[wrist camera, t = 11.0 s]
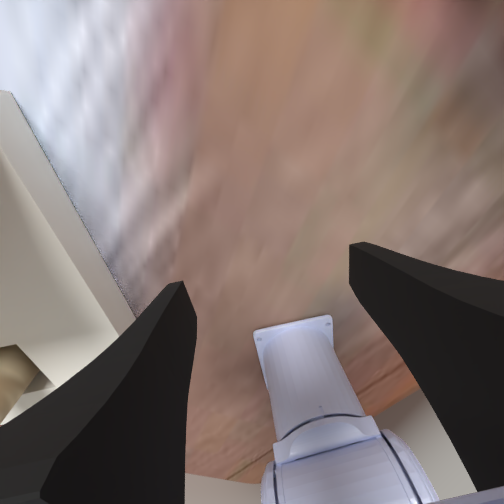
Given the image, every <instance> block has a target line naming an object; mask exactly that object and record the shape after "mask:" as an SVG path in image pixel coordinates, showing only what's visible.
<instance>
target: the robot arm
mask: <svg viewBox="0 0 504 504" xmlns="http://www.w3.org/2000/svg"><path fill="white" fill-rule="evenodd" d="M349 284H350V286H351V288H352V290H353V291H354V293H355V295H356V297H357V298H358V300H359V302H360V303H361V305H362V306H363V307H364V309H365V310H366V311H367V312H368V314H369V315H370V316H371V318H372V319H373V320H374V321H375V323H376V324H377V325H378V327H379V328H380V329H381V330H382V332H383V333H384V334H385V336H386V337H387V338H388V339H389V341H390V342H391V343H392V345H393V346H394V347H395V349H396V350H397V351H398V353H399V354H400V356H401V357H402V359H403V360H404V362H405V363H406V365H407V367H408V368H409V370H410V371H411V373H412V375H413V376H414V378H415V379H416V381H417V383H418V384H419V386H420V388H421V389H422V391H423V393H424V394H425V396H426V398H427V399H428V401H429V402H430V404H431V406H432V408H433V410H434V411H435V413H436V415H437V417H438V418H439V420H440V422H441V424H442V426H443V427H444V429H445V431H446V433H447V434H448V436H449V438H450V440H451V442H452V443H453V446H454V447H455V449H456V451H457V453H458V455H459V457H460V459H461V460H462V462H463V464H464V466H465V468H466V470H467V472H468V474H469V476H470V478H471V480H472V482H473V484H474V486H475V488H476V490H477V492H476V493H471V494H467V495H462V496H458V497H453V498H449V499H444V500H439V498H438V496H437V494H436V492H435V490H434V488H433V486H432V484H431V482H430V480H429V479H428V477H427V475H426V473H425V472H424V470H423V468H422V466H421V465H420V463H419V462H418V460H417V458H416V457H415V455H414V454H413V452H412V451H411V449H410V448H409V446H408V445H407V444H406V443H405V442H404V441H403V439H402V438H400V437H399V436H397V435H396V434H394V433H393V432H391V431H390V430H389V429H383V430H379V429H378V427H377V426H376V423H375V421H374V420H373V418H372V416H366V415H365V413H364V411H363V409H362V407H361V405H360V402H359V400H358V398H357V396H356V394H355V392H354V390H353V388H352V386H351V384H350V382H349V380H348V378H347V376H346V374H345V372H344V370H343V368H342V366H341V364H340V362H339V360H338V358H337V356H336V354H335V351H334V347H333V319H332V317H331V316H330V315H323V316H318V317H314V318H309V319H304V320H300V321H295V322H291V323H286V324H281V325H277V326H272V327H268V328H263V329H259V330H255V331H254V332H253V337H254V341H255V345H256V348H257V352H258V356H259V360H260V364H261V368H262V372H263V376H264V380H265V384H266V387H267V389H268V390H269V396H270V402H271V408H272V413H273V419H274V425H275V431H276V436H277V442H276V443H274V444H273V450H274V457H275V460H274V461H271V462H268V463H267V465H266V469H265V472H264V474H263V477H262V481H261V504H504V281H501V280H496V279H491V278H486V277H481V276H477V275H473V274H468V273H464V272H460V271H456V270H452V269H448V268H444V267H441V266H438V265H434V264H431V263H427V262H424V261H421V260H418V259H415V258H412V257H409V256H406V255H403V254H400V253H397V252H394V251H391V250H389V249H386V248H383V247H380V246H377V245H374V244H371V243H367V242H360V243H355V244H350V245H349ZM326 323H327V324H326ZM196 339H197V316H196V313H195V311H194V308H193V305H192V303H191V300H190V298H189V295H188V293H187V290H186V288H185V285H184V282H183V281H179V282H174V283H170V284H168V285H167V286H166V287H165V288H164V289H163V290H162V291H161V292H160V293H159V295H158V296H157V297H156V298H155V299H154V300H153V301H152V302H151V304H150V305H149V306H148V307H147V308H146V309H145V310H144V311H143V312H142V314H141V315H140V316H139V317H138V318H137V319H136V320H135V321H134V322H133V323H132V324H131V325H130V326H129V327H128V328H127V329H126V330H125V331H124V332H123V333H122V334H121V335H120V336H119V337H118V338H117V339H116V340H115V341H114V342H113V343H112V344H111V345H110V346H109V347H108V348H107V349H105V350H104V351H103V352H102V353H101V354H100V355H99V356H97V357H96V358H95V359H94V360H93V361H92V362H90V363H89V364H88V365H87V366H85V367H84V368H83V369H81V370H80V371H79V372H78V373H76V374H75V375H74V376H73V377H71V378H70V379H69V380H67V381H66V382H65V383H64V384H62V385H61V386H60V387H58V388H57V389H56V390H54V391H53V392H51V393H50V394H49V395H47V396H46V397H44V398H43V399H42V400H40V401H39V402H37V403H36V404H34V405H33V406H31V407H30V408H28V409H27V410H25V411H24V412H23V413H21V414H20V415H18V416H17V417H15V418H13V419H12V420H10V421H9V422H7V423H6V424H4V425H3V426H1V427H0V504H184V503H185V499H184V498H185V497H184V496H185V446H186V421H187V402H188V393H189V386H190V379H191V373H192V366H193V360H194V353H195V346H196Z"/></svg>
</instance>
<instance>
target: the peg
mask: <svg viewBox="0 0 504 504" xmlns="http://www.w3.org/2000/svg"><path fill="white" fill-rule="evenodd" d="M39 371H40V369H39V368H38V367H37V366H36V365H35V364H34V363H33V361H32V360H31V359H30V358H29V357H28V356H27V355H26V354H25V353H24V352H23V351H22V350H21V349H20V348H19V346H18V345H17V344H14V345H9V346H5V347H0V424H1V423H2V421H3V420H4V419H5V417H6V416H7V415H8V413H9V412H10V410H11V409H12V408H13V406H14V405H15V404H16V402H17V401H18V400H19V398H20V397H21V395H22V394H23V393H24V391H25V390H26V389H27V387H28V386H29V385H30V383H31V382H32V380H33V379H34V378H35V376H36V375H37V374H38V372H39Z"/></svg>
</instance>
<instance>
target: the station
mask: <svg viewBox="0 0 504 504" xmlns="http://www.w3.org/2000/svg"><path fill="white" fill-rule="evenodd" d="M135 320H136V318H135V316H134V314H133V312H132V310H131V309H130V307H129V305H128V303H127V301H126V300H125V298H124V296H123V294H122V292H121V291H120V289H119V287H118V285H117V283H116V282H115V280H114V278H113V276H112V274H111V273H110V271H109V269H108V267H107V265H106V264H105V262H104V260H103V258H102V256H101V255H100V253H99V251H98V249H97V247H96V246H95V244H94V242H93V240H92V238H91V237H90V235H89V233H88V231H87V229H86V227H85V226H84V224H83V222H82V220H81V218H80V217H79V215H78V213H77V211H76V209H75V208H74V206H73V204H72V202H71V200H70V199H69V197H68V195H67V193H66V191H65V190H64V188H63V186H62V184H61V182H60V181H59V179H58V177H57V175H56V173H55V172H54V170H53V168H52V166H51V164H50V163H49V161H48V159H47V157H46V155H45V153H44V152H43V150H42V148H41V146H40V144H39V143H38V141H37V139H36V137H35V135H34V134H33V132H32V130H31V128H30V126H29V125H28V123H27V121H26V119H25V117H24V116H23V114H22V112H21V110H20V108H19V107H18V105H17V103H16V101H15V99H14V98H13V96H12V94H11V92H10V91H4V90H0V347H5V346H9V345H14V344H17V345H18V346H19V348H20V349H21V350H22V351H23V352H24V353H25V354H26V355H27V356H28V357H29V358H30V359H31V360H32V361H33V363H34V364H35V365H36V366H37V367H38V368H39V369H40V371H39V372H38V374H37V375H36V376H35V378H34V379H33V380H32V382H31V383H30V385H29V386H28V387H27V389H26V390H25V391H24V393H23V394H22V395H21V397H20V398H19V400H18V401H17V402H16V404H15V405H14V406H13V408H12V409H11V410H10V412H9V413H8V415H7V416H6V417H5V419H4V420H3V421H2V423H1V424H0V425H3V424H6V423H7V422H9V421H10V420H12V419H13V418H15V417H17V416H18V415H20V414H21V413H23V412H24V411H25V410H27V409H28V408H30V407H31V406H33V405H34V404H36V403H37V402H39V401H40V400H42V399H43V398H44V397H46V396H47V395H49V394H50V393H51V392H53V391H54V390H56V389H57V388H58V387H60V386H61V385H62V384H64V383H65V382H66V381H67V380H69V379H70V378H71V377H73V376H74V375H75V374H76V373H78V372H79V371H80V370H81V369H83V368H84V367H85V366H87V365H88V364H89V363H90V362H92V361H93V360H94V359H95V358H96V357H97V356H99V355H100V354H101V353H102V352H103V351H104V350H105V349H107V348H108V347H109V346H110V345H111V344H112V343H113V342H114V341H115V340H116V339H117V338H118V337H119V336H120V335H121V334H122V333H123V332H124V331H125V330H126V329H127V328H128V327H129V326H130V325H131V324H132V323H133V322H134V321H135Z"/></svg>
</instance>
